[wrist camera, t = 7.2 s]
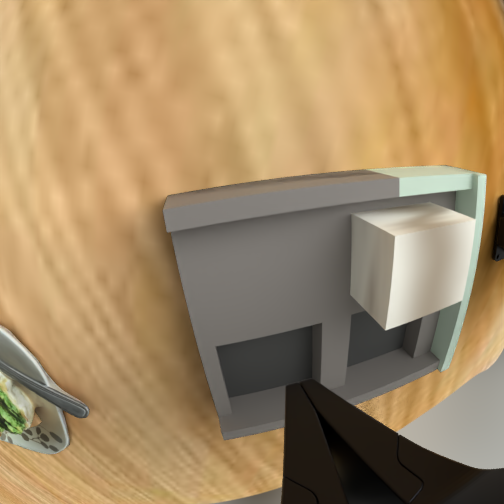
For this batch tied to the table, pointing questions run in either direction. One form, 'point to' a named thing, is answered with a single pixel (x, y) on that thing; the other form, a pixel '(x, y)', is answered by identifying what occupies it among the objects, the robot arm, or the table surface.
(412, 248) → the cream block
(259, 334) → the box
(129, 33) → the table surface
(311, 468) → the robot arm
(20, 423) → the salad plate
